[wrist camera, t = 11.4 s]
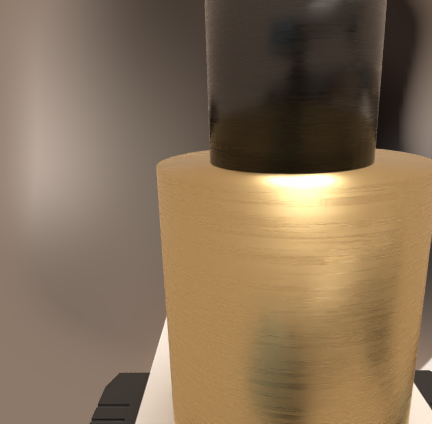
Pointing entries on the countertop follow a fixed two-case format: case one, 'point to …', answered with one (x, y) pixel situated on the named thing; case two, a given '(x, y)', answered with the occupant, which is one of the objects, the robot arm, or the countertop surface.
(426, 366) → the countertop surface
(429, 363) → the countertop surface
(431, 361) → the countertop surface
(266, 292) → the tall gold bottle
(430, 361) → the countertop surface
